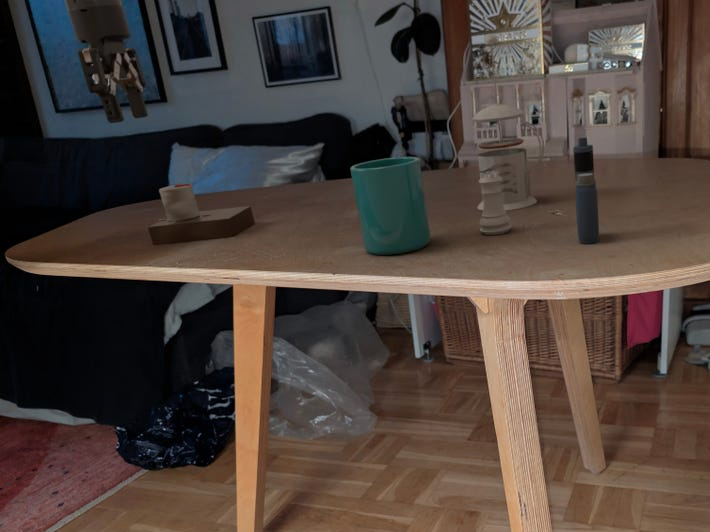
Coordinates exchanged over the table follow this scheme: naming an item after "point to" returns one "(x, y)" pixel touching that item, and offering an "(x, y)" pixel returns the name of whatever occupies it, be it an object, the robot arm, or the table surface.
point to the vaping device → (586, 193)
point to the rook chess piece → (493, 206)
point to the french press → (507, 153)
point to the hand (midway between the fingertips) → (129, 119)
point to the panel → (203, 226)
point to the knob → (179, 202)
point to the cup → (391, 205)
